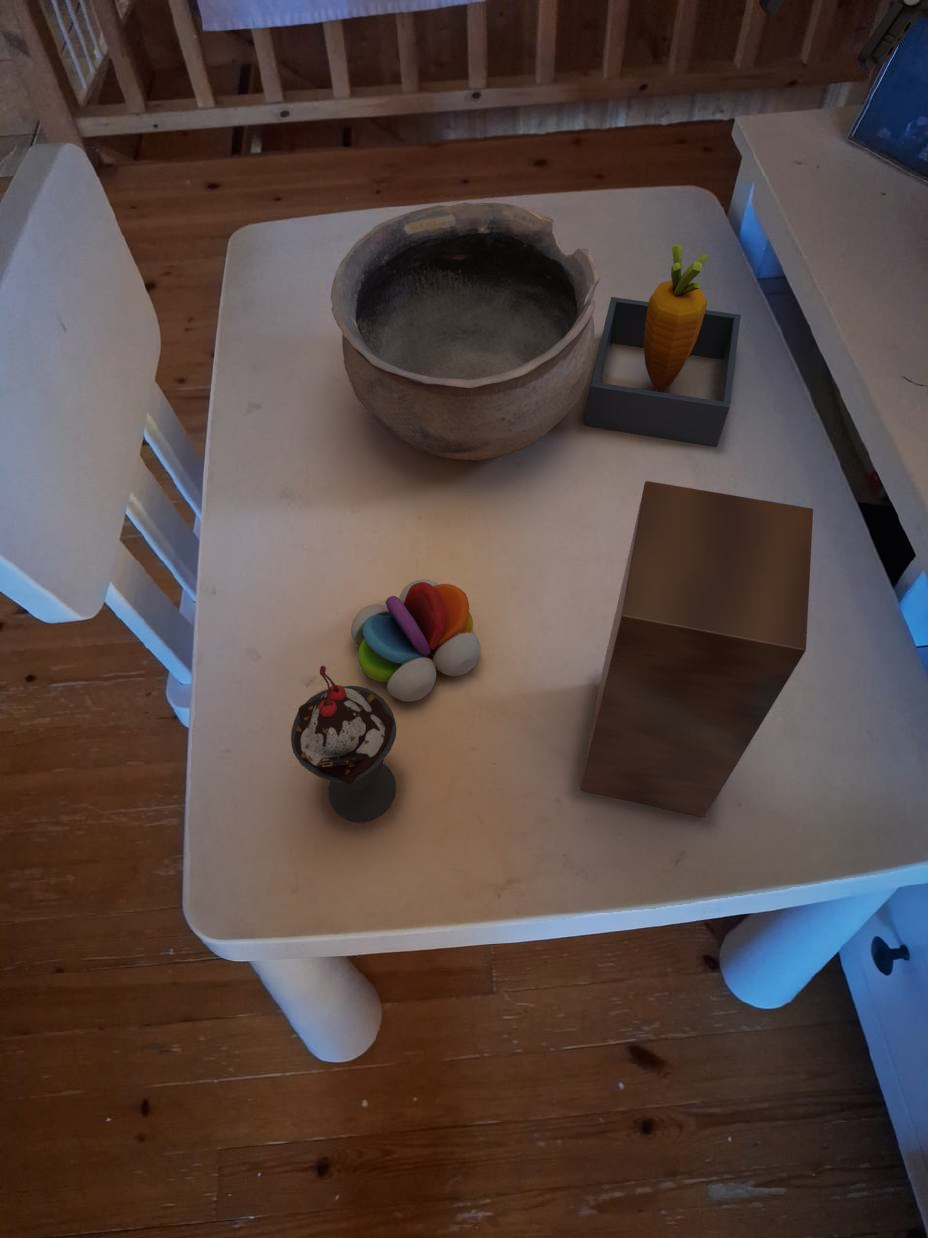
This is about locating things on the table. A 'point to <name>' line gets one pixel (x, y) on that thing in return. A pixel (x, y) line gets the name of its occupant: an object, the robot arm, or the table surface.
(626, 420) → the square storage tray
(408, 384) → the ceramic bowl
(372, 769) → the sundae
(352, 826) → the table surface
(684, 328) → the carrot
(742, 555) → the block
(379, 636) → the rainbow cloud toy
